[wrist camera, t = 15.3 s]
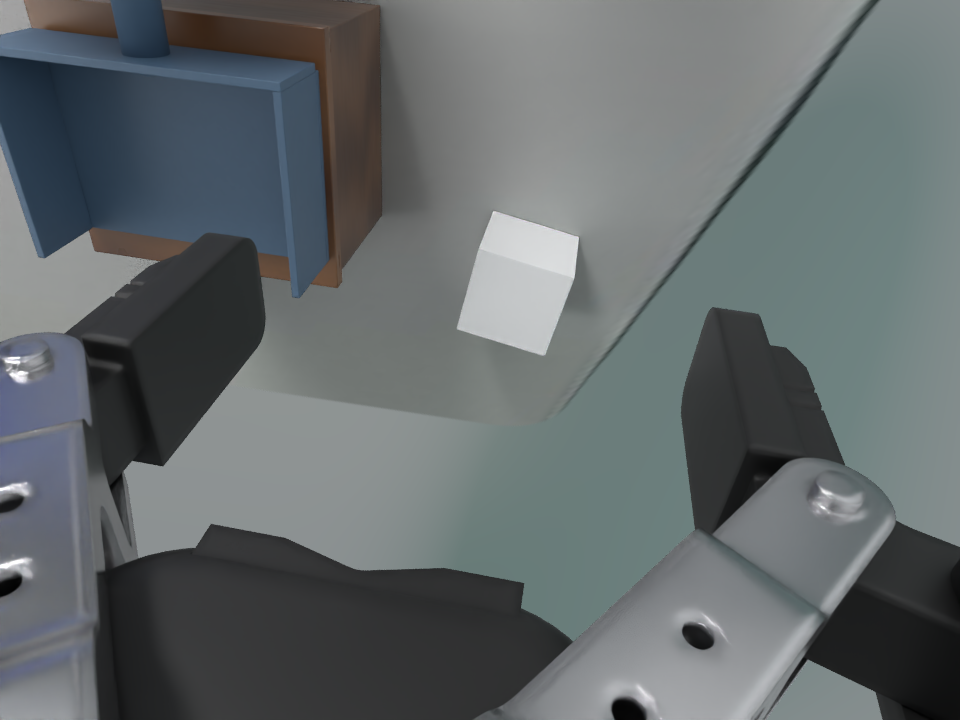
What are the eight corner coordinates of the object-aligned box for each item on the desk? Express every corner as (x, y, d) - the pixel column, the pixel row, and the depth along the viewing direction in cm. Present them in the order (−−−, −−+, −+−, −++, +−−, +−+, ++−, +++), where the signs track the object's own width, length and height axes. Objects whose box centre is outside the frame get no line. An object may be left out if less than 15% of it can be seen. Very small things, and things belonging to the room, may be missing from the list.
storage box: (141, -27, 40) (20, -7, 32) (385, -1, 39) (324, 28, 31) (184, 204, 49) (98, 266, 41) (386, 233, 47) (338, 303, 39)
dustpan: (329, 260, 38) (299, 298, 34) (91, 224, 39) (38, 257, 35) (302, -219, 26) (251, -236, 22) (-39, -248, 27) (-139, -269, 24)
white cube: (493, 210, 45) (478, 248, 40) (579, 236, 45) (574, 277, 40) (472, 285, 49) (456, 329, 44) (551, 310, 49) (544, 356, 44)
